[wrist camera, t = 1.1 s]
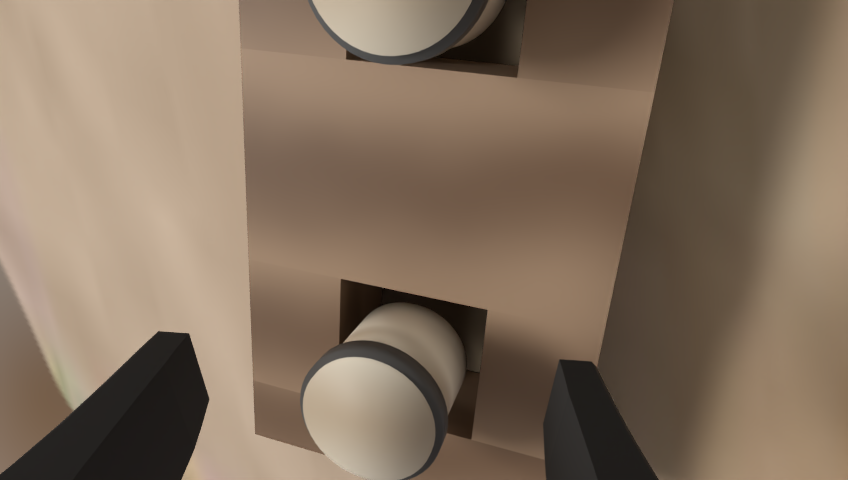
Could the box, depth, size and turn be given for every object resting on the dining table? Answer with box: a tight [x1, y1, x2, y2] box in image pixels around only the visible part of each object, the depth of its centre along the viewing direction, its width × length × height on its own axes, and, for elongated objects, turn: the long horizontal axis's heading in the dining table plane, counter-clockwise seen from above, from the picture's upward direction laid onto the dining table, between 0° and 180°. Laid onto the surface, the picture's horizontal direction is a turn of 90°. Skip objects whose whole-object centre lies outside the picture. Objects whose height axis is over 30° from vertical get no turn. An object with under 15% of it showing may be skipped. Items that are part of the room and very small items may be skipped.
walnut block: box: [239, 0, 674, 480], centre depth 20 cm, size 22×12×4 cm, turn 175°
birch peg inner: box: [300, 302, 467, 480], centre depth 19 cm, size 4×4×4 cm
